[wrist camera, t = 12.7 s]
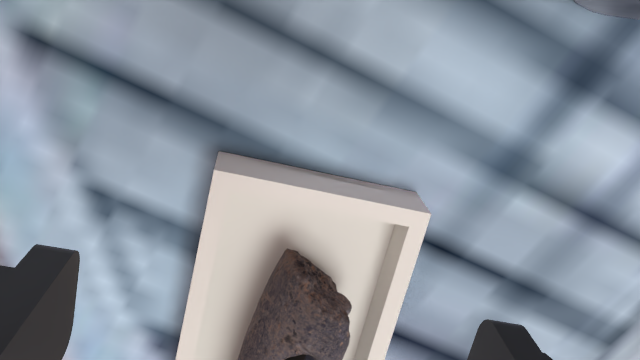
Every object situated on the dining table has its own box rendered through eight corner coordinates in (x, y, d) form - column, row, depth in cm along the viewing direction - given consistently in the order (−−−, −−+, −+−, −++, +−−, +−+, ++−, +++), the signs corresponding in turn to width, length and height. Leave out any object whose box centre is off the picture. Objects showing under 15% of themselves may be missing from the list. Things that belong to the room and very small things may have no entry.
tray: (416, 192, 37) (431, 214, 33) (327, 476, 43) (332, 518, 40) (218, 150, 35) (213, 169, 31) (157, 455, 41) (147, 497, 38)
